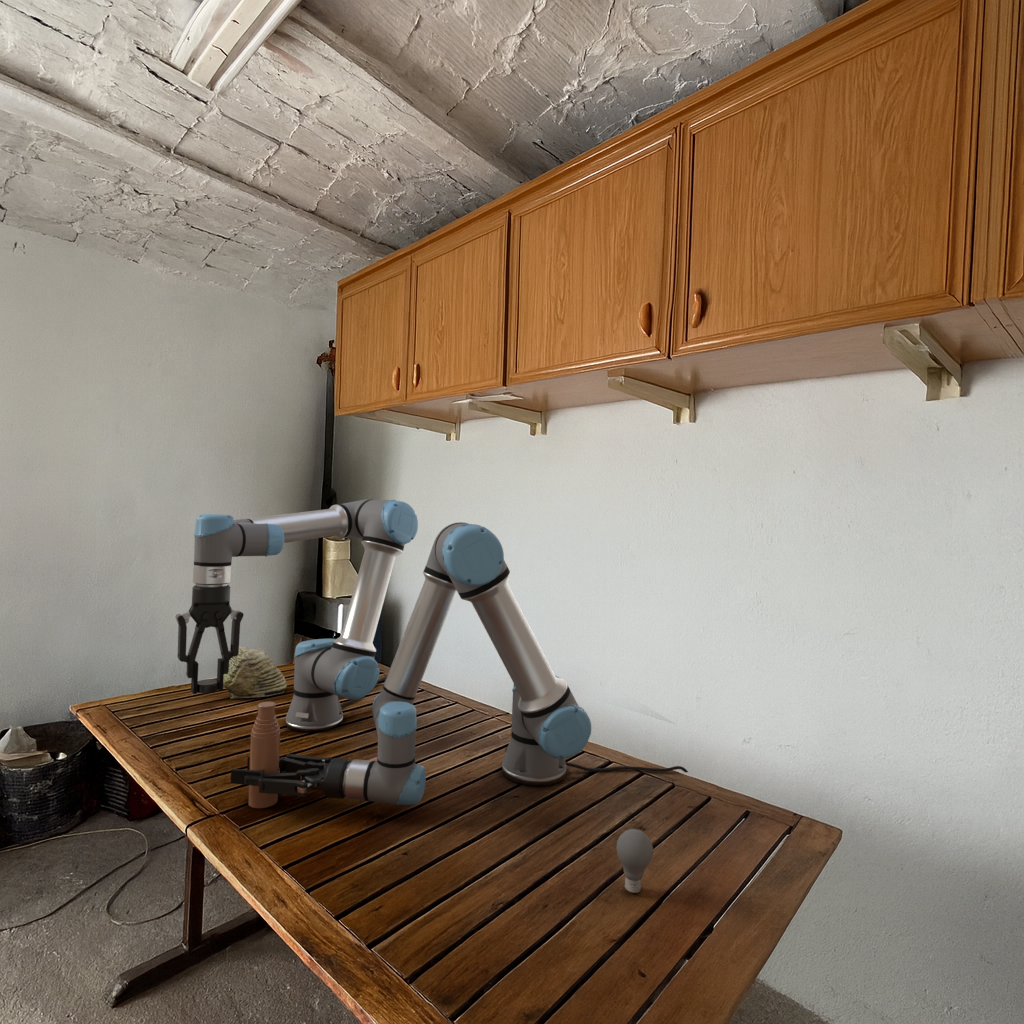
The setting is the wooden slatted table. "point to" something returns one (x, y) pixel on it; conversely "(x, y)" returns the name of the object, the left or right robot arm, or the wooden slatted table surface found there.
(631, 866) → the light bulb
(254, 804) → the bottle
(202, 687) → the cap
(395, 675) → the right robot arm
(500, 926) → the wooden slatted table surface
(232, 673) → the fossil
